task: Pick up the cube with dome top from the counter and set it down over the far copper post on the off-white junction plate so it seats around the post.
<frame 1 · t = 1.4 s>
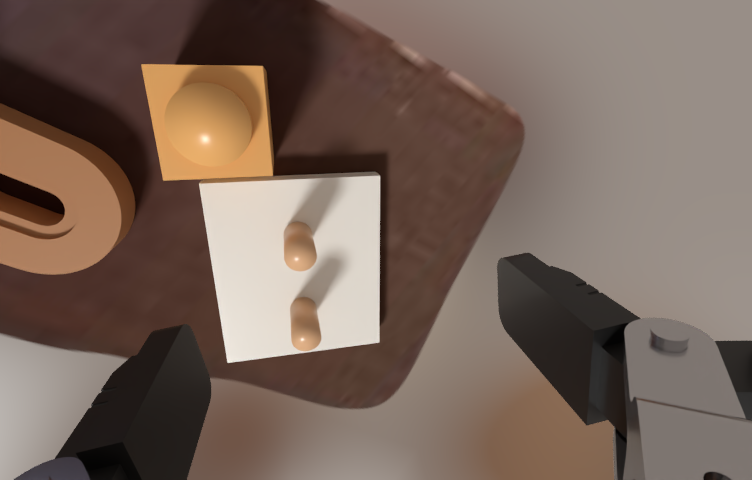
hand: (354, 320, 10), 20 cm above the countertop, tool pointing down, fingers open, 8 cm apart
junction plate: (299, 265, 31), on the countertop
cube with dome top: (226, 116, 26), on the countertop
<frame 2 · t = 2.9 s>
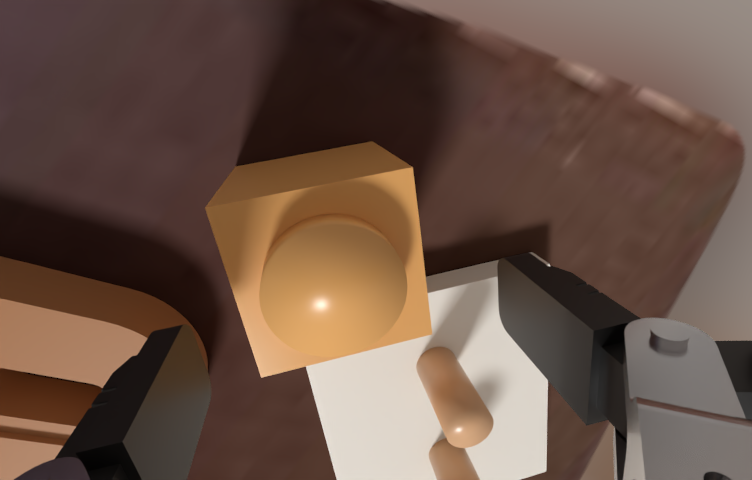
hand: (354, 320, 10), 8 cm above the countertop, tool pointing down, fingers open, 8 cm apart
junction plate: (431, 390, 22), on the countertop
cube with dome top: (319, 218, 17), on the countertop
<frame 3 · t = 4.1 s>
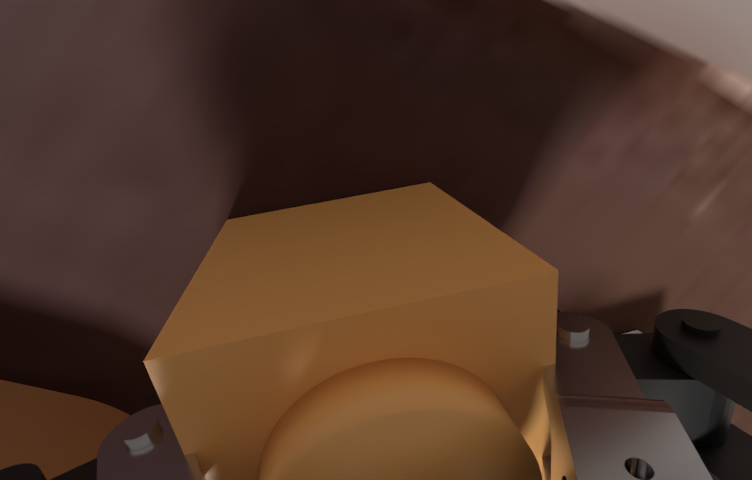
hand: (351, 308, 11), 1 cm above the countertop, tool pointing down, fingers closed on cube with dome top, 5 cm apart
cube with dome top: (348, 290, 12), on the countertop, touching gripper
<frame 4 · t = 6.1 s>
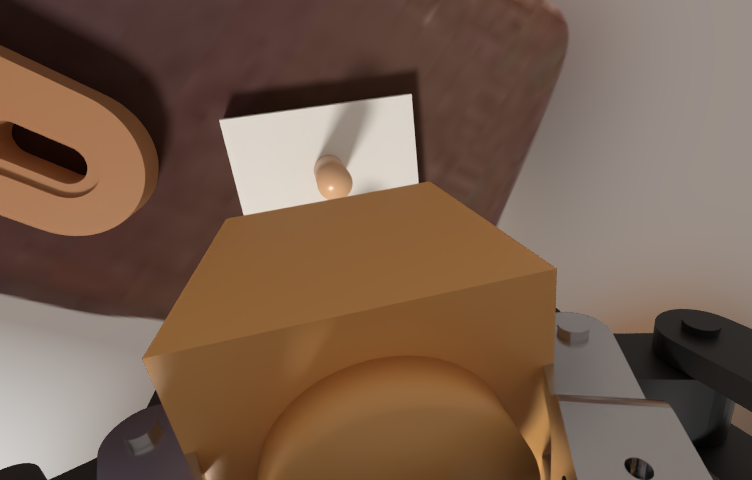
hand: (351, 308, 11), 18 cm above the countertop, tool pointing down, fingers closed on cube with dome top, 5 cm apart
junction plate: (334, 207, 29), on the countertop
cube with dome top: (347, 289, 12), point 17 cm above the countertop, touching gripper
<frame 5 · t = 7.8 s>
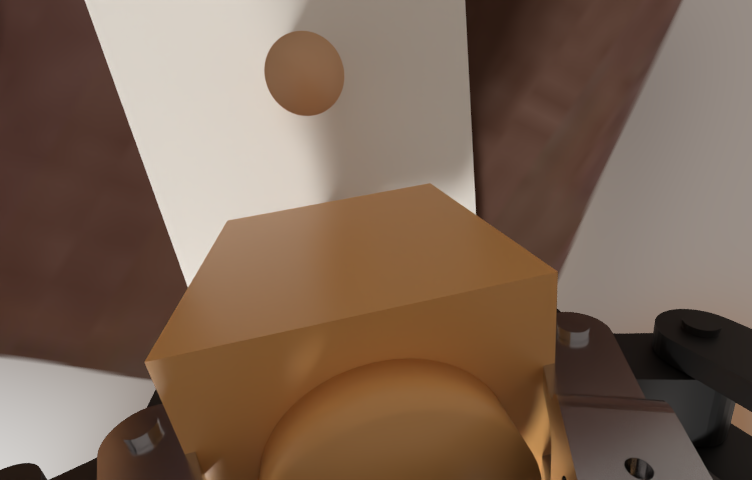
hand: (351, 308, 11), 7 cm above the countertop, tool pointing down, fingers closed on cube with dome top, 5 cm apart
junction plate: (318, 158, 16), on the countertop
cube with dome top: (348, 290, 12), point 6 cm above the countertop, touching gripper
when the fingers open (3 cm above the countertop, at t = 9.0 s): cube with dome top stays where it is, resting on junction plate.
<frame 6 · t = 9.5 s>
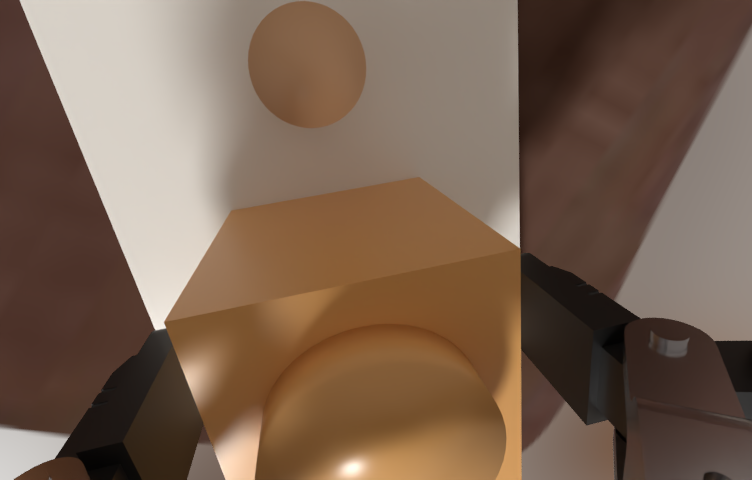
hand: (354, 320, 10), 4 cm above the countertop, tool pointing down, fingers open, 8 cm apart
junction plate: (324, 176, 13), on the countertop
cube with dome top: (343, 277, 13), point 1 cm above the countertop, touching junction plate
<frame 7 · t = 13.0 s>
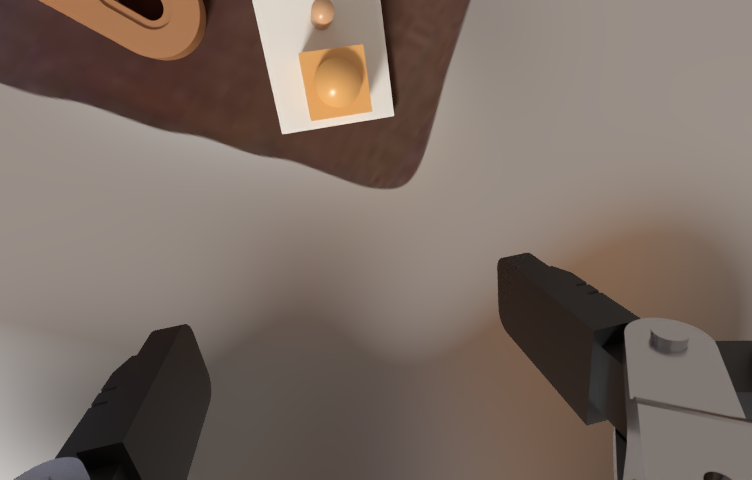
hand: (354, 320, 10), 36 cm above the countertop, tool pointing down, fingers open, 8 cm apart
junction plate: (325, 53, 41), on the countertop
cube with dome top: (331, 84, 40), point 1 cm above the countertop, touching junction plate
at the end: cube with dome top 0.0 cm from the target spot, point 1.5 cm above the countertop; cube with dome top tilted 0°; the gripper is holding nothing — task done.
